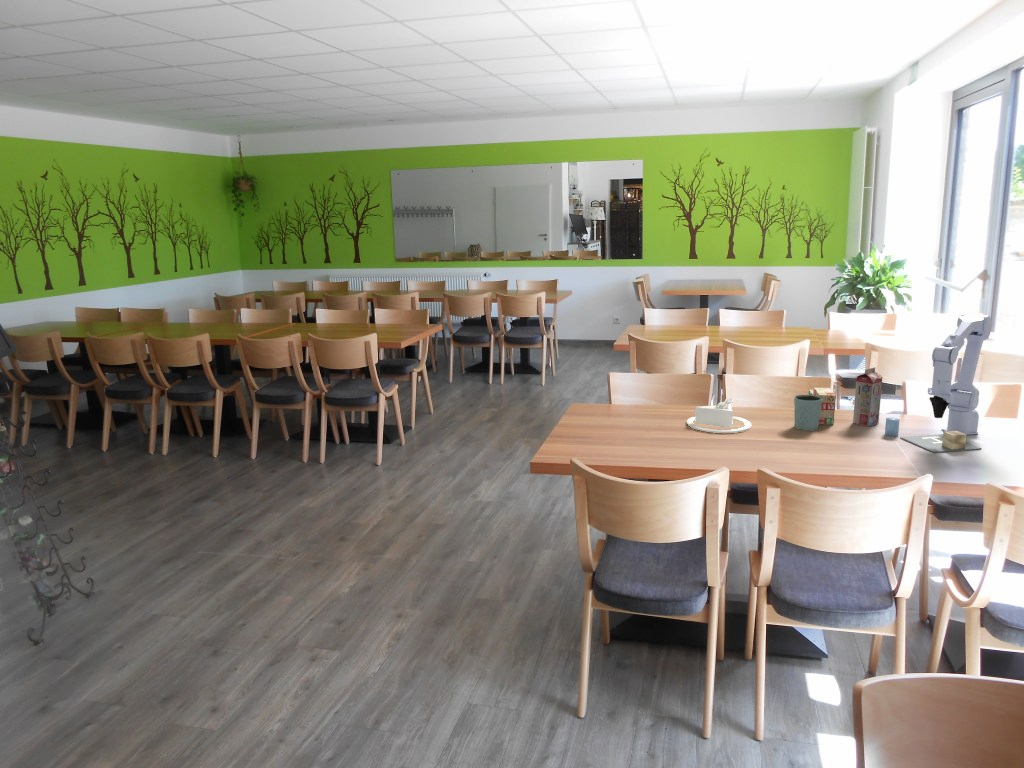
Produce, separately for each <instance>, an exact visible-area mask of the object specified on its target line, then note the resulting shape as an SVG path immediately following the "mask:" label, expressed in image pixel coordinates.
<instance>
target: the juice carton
mask: <svg viewBox="0 0 1024 768" xmlns="http://www.w3.org/2000/svg"><path fill="white" fill-rule="evenodd" d="M855 378H856V380H855V391H854V393H855V394H854V403H853V404H854V405H853V420H852V423H853V424H855V423H856V425H860V424H861V426H864V425H866V426H865V427H872V426H874V424H875V425H878V424H879V422H880V421H879V420H880V410H881V409H880V408H881V401H882V400H881V397H882V386H883V385H882V384H883V376H882V375H881V374H879V373H878V372H876V367H871V368H867V369H865V370H864V373H863V374H859V375H857V376H856V377H855ZM877 423H878V424H877ZM871 425H872V426H871Z"/></svg>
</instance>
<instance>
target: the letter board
mask: <svg viewBox="0 0 1024 768" xmlns="http://www.w3.org/2000/svg"><path fill="white" fill-rule="evenodd" d="M900 440H903V441H906V442H908V443H910V444H912V445H915V446H917V447H919V448H922V449H924V450H926V451H929V452H931V453H933V454H939V453H940V454H941V453H942V454H943V453H954V452H964V451H965V452H966V451H967V452H968V451H977V450H976V449H981V450H982V447H979V446H978V445H974V444H971V443H969V442H967V441H966V445H965V449H950V448H947V447H945V446H943V445H942V440H943V433H937V434H923V435H910V436H900Z"/></svg>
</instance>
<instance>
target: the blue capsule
mask: <svg viewBox="0 0 1024 768" xmlns="http://www.w3.org/2000/svg"><path fill="white" fill-rule="evenodd" d="M899 429H900V419H899V418H898V417H886V419H885V427H884V435H885V434H886V435H885V436H887V435H889V436H888V437H899V433H900V430H899Z"/></svg>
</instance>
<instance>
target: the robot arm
mask: <svg viewBox="0 0 1024 768" xmlns="http://www.w3.org/2000/svg"><path fill="white" fill-rule="evenodd" d="M957 318H958V319H957V321H956V323H957V324H956V326H957V328H956V330H955V332H954V333H951V334H949V335H948V336H947V337H946V338H945V340H943V342H942V343H941V344H940V345H937V346H936V347H934V348H933V351H932V355H931V359H932V367H933V372H932V373H933V375H932V384H931V385H932V386H931V387H928V388H927V394H928V395H930V396H929V398H928V399H929V401H930V403H931V406H932V411H933V416H934V418H936V419H943V417H944V414H945V412H946V409H948V416H947V417H948V419H947V426H946V428H945V427H943V428H941V431H942V432H945V431H958V432H961V433H964V434H966V435H968V436H969V435H978V433H979V432H978V427H979V419H980V417H979V413H978V411H977V409H976V408H977V407H978V404H979V401H980V400H979V398H980V397H979V396H980V390H979V389H978V388H977V387H976V386H975V385H974V384H973V383H974V380H975V376H976V371H977V367H978V363H979V359H980V355H981V351H982V347H983V343H984V341H986V340H988V339H989V337H990V335H991V331H992V327H993V318H992V317H991V316H990V314H989V315H982V314H981V315H980V314H972V313H964V312H963V313H961V314H960V315H958V317H957ZM965 339H966V340H967V341H966V342H965ZM965 343H966V344H965ZM964 345H965V350H964V353H963V354H964V355H963V356H962V357H963V358H962V360H961V361H962V363H961V365H960V370H959V374H958V378H957V381H956V382H954V383H952V379H953V369H954V364H955V363H956V361H957V358H958V356H959V352H960V350H961V349H962V348H963V347H964Z"/></svg>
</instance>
